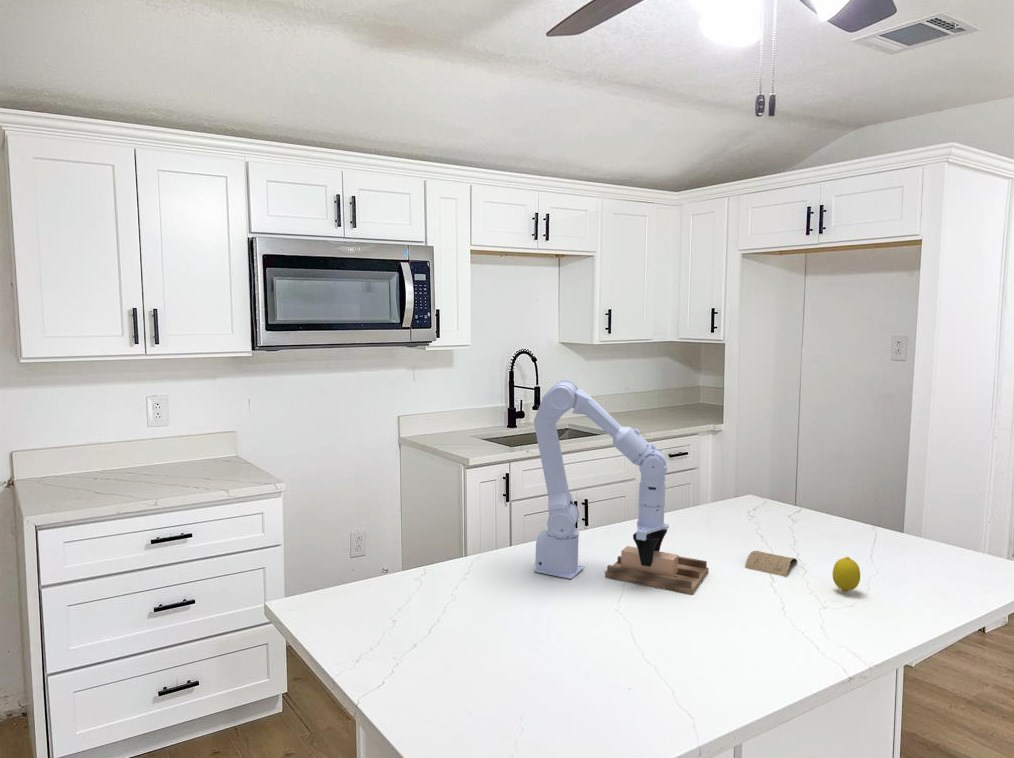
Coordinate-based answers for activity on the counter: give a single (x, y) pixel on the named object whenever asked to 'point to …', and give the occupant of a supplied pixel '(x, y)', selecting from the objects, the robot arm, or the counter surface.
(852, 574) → the lemon
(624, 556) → the peach rectangular block
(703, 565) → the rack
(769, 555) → the clay tablet
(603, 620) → the counter surface
